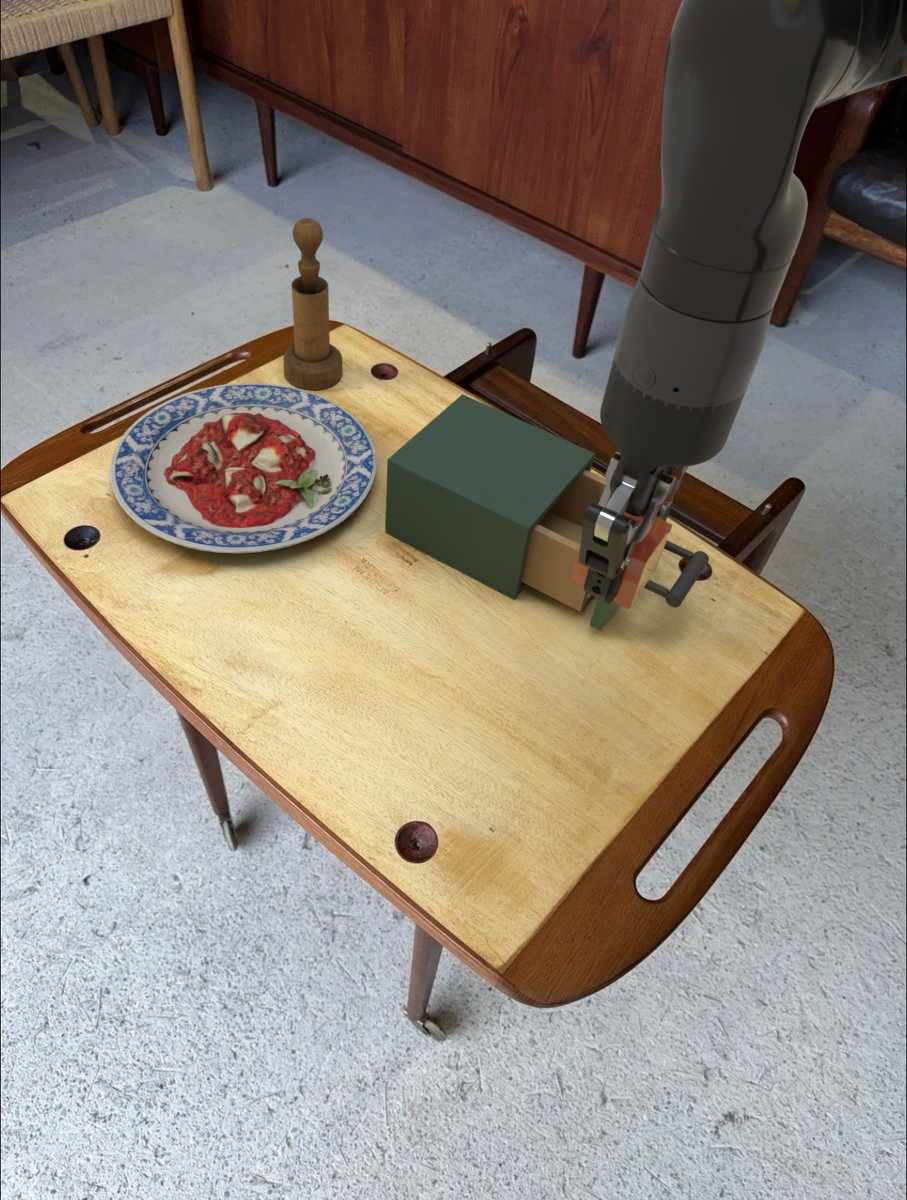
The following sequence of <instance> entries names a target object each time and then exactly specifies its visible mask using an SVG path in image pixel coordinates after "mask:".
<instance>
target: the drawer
mask: <svg viewBox="0 0 907 1200" xmlns="http://www.w3.org/2000/svg"><path fill="white" fill-rule="evenodd" d="M606 483H607V482H606V478H605V477H603V476H601V475H598V474H596V473H595V472H593V471H587V470H584V471H583V472H582V474H581V475H580V476H579V477H578V478H577V479H576V480H575V482H574V483H573V484H572V485H571V486H570V487H569V488H568V490H567V491H566V492H565V493H564V494H563V495H562V496H561V497H560V499H559V500H558V501H557V502H556V503H555V504H554V505H553V507H552V508H551V509H550V510H549V511H548V512H547V513H546V515H545V516H544V517H543V518H542V519H541V520H540V521H539V523H538V524H537V525H536V526H535V527H534V528H533V529H532V532H531V537H530V542H529V547H528V552H527V557H526V562H525V567H524V572H523V577H522V581H521V582H523V583H525V584H527V586H529V587H532V589H535V590H537V591H539V592H540V593H542V594H545V595H546V596H548V597H550V598H552V599H554V600H557V601H558V602H560V603H562V604H564V605H565V606H568V607H570V608H572V609H574V610H576V611H577V612H581V611H582V610H583V608H584V607H585V606H586V605H587V604H588V602H589V601H590V600H591V598H592V597H593V596H592V595H590V594H588V593H587V592H586V591H585V590H584V586H582V585H580V584H577V583H575V582H573V581H571V577H572V574H573V570H574V566H575V563H576V559H577V555H578V551H579V548H580V544H581V537H582V529H583V521H584V516H585V515H584V513H585V510H586V509H587V507H589V506H590V505H591V503H595V504H599V502H600V499H601V497H602V494H603V491H604V489H605V486H606ZM673 503H674V502H673V500H672V501H671V502H670V503H668V505H667V507H668V508H667V511H666V512H665V514H664V513H663V515H662V516H661V517H659V519H661V520H664V521H666V522H667V519H668V517H669V514H670V511H671V508H672V505H673ZM657 517H658V516H657ZM663 550H666V551H668V552H670V553H672V554H675V555H676V556H679V557H681V558H683V559H685V560H686V561H688V563H687V564H686V565H685V567H684V568H683V570H682V572H681V573H680V574H679V576H678V577H677V579H676V581H675V582H674V583H673V585H672V587H671V588H670V589H669V588H668V587H666V586H663V585H661V584H659V583H657V582H655V581H653V580H651V579H649V581H648V582H647V584H646V585H645V587H644V588H643V589H646V590H648V591H650V592H653V593H654V594H656V595H658V596H661V597H662V598H664V599H665V602H666V604H667V605H668V606H670V607H671V608H679V607H680V606H681V605H682V603H683V602H684V600H685V599H686V598H687V596H688V594H689V592H690V591H691V590H692V588H693V586H694V585H695V583H696V581H697V580H698V579H699V577H700V576H701V574H702V572H703V571H704V569H705V568H706V566H707V565H708V563H709V561H710V557H709V555H708V553H706V552H705V551H702V550H698V551H695V552H693V551H691V550H689V549H687V548H684V547H683V546H681V545H678V544H676V543H674V542H672V541H670V540H668V539H667V541H666V543H665V546H664V549H663ZM620 606H621V605H620V604H618V603H616V602H614V601H612V602H611V603H606V602H604V601H602V600H600V599H598V598H596V601H595V605H594V608H593V611H592V613H591V617H590V620H589V623H588V625H589V627H591V628H593V629H595V630H597V631H599V632H602V631H603V629H604V628H605V627H606V625H607V624H608V622H609V621H610V619H611V618H612V617H613V615H614V614H615V612H616V611H617V610H618V608H619V607H620Z"/></svg>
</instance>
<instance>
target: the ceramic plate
mask: <svg viewBox="0 0 907 1200" xmlns="http://www.w3.org/2000/svg"><path fill="white" fill-rule="evenodd" d="M110 459H111V460H110V465H109V481H110V486H111V489H112V492H113V495H114V496H115V498H116V500H117V502H118V504H119V506H120V507H121V508H122V509H123V511H124V512H125V513H126V515H127V516H129V517H130V519H131V520H133V521H134V522H135V523H136V524H137V525H139V526H140V527H141V528H142V529H144V530H146V531H147V532H149V533H150V534H152V535H154V536H156V537H158V538H160V539H163V540H165V541H167V542H170V543H172V544H175V545H178V546H182V547H185V548H189V549H193V550H197V551H203V552H211V553H223V554H249V553H262V552H268V551H274V550H279V549H283V548H284V549H285V548H288V547H292V546H295V545H299V544H302V543H304V542H306V541H309V540H312V539H314V538H316V537H319V536H321V535H323V534H325V533H327V532H328V531H330V530H332V529H334V528H336V527H337V526H338V525H340V524H341V523H342V522H344V521H345V520H346V519H348V518H349V517H350V516H351V515H352V514H353V513H354V512H355V511H356V510H357V509H358V508H359V507H360V506H361V505H362V504H363V502H364V500H365V499H366V497H367V496H368V495H369V493H370V491H371V489H372V486H373V483H374V480H375V478H376V477H375V476H376V473H377V454H376V449H375V445H374V443H373V440H372V438H371V436H370V434H369V433H368V431H367V430H366V429H365V427H364V426H363V424H362V423H361V422H360V421H359V420H358V419H357V418H356V417H354V415H353V414H351V413H350V412H349V411H347V410H346V409H345V408H343V407H342V406H340V405H339V404H337V403H335V402H334V401H332V400H330V399H328V398H326V397H324V396H321V395H319V394H316V393H313V392H310V391H308V390H305V389H301V388H298V387H294V386H288V385H280V384H272V383H263V382H262V383H261V382H245V383H243V382H242V383H226V384H218V385H214V386H210V387H205V388H200V389H196V390H192V391H188V392H185V393H182V394H180V395H178V396H175V397H173V398H171V399H168V400H166V401H164V402H163V403H161V404H158V405H157V406H156V407H153V408H152V409H150V410H149V411H147V412H145V413H144V414H143V415H142V416H140V417H139V418H138V419H137V420H136V421H134V422H133V423H132V424H131V426H129V427H128V429H126V431H125V432H124V433H123V435H122V436H121V437H120V439H119V440H118V442H117V444H116V446H115V447H114V450H113V453H112V456H111V458H110Z"/></svg>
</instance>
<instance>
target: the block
mask: <svg viewBox="0 0 907 1200" xmlns="http://www.w3.org/2000/svg"><path fill="white" fill-rule="evenodd" d="M624 515H625V516H627V517H629V518H631V519H634V520H636V521H638V522H642V520H643V517H641V516H638V517H637V516H633V515H631V514H628V513H626V512H625V513H624ZM672 527H673V524H672V523H670V522H668V521H667V520H666V521H664V520H661V519H659V518H657V517H656V518H655V521H654V523H653V525H652V528H651V530H650V532H649V534H648V535H647V536H646V537H645V538H644V539H643V540H642V541H640V542H637V543H636V545H635V548H634V550H633V553H632V555H631V557H630V559H631V561H630V563H629V565H628V566H626V569H625V572H624V575H623V578H622V581H621V584H620V587H619V590H618V593H617V595H616V597H615V598H614V600H613V601H614V602H616V603H618V604H620V605H619V606H622V607H624V608H626V609H628V610H630V609H631V608H632V606H633V605H634V604H635V602H636V600H637V599H638V597H639V596H640V594H641V593H642V591H643V590H644V589H645V588H644V587H645V585H646V584H647V582H648V581H649V580H651V578H652V576H653V575H654V573H655V572H656V570H657V569H658V568H657V567H658V564H659V562H660V561H661V557H662V554H663V551H664V550H665V549H664V546H665V543H666V541H667V540H668V538H669V535H670V533H671V530H672ZM580 545H581V544H580ZM579 554H580V548H579V551H578V555H577V559H576V563H575V566H574V570H573V574H572V577H571V581H573V582H575V583H577V584H580V585H582V586H584V583H585V579H586V576H587V573H588V569H589V567H586V566H584V565H582V564H580V563H579Z"/></svg>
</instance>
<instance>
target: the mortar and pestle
mask: <svg viewBox="0 0 907 1200" xmlns="http://www.w3.org/2000/svg"><path fill="white" fill-rule="evenodd" d="M292 238H293V242H294V243H295V245H296V247H297V248H298V249H299V251H300V255H301V257H300V259H299V260H298V262H297V268H298V272H299V275H300V276H298V277H296V278H294V279H293V280H292V282H291V284H290V285H291V301H292V317H293V338H294V339H293V340H294V344H292V345H291V346H289V347H288V348H287V349H286V350H285V352H284V354H283V374H284V377H285V379H286V381H287V382H288V383H289V384H291V385H292V386H293V387H294V388H297V389H300V390H306V391H308V390H309V391H318V390H319V389H320V390H325V389H328V387H329V388H331V387H333V386H335V385H336V384H338V383H339V381H340V380H341V379H342V376H343V356H342V353H341V351H340V350H339V348H337V347H336V346H334V345H332V344H331V343H330V342H331V339H330V300H329V299H330V298H329V297H330V296H329V283H328V281H327V280H326V279H325V278H323V277H322V276H319V274H320V270H321V263H320V262H321V261H319V260H318V259H317V258H316V257H317V256H316V255H317V251H318V250H319V248H320V246H321V245H322V242H323V239H324V231H323V228H322V226H321V224H320V223H319V222H318V221H317V220H316V219H313V218H311V217H304V218H301V219H299V220H298V221H296V223H295V224H294V225H293V229H292ZM337 382H338V383H337Z"/></svg>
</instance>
